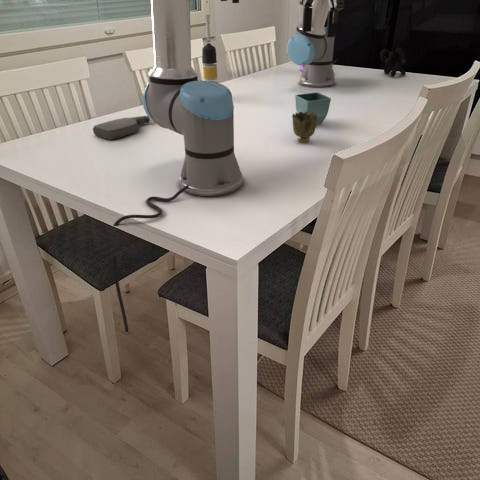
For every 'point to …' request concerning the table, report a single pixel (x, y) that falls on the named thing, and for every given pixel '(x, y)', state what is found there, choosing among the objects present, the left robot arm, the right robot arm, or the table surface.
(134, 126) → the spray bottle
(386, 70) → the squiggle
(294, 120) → the cup
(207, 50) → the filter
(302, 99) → the teal square planter
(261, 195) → the table surface
